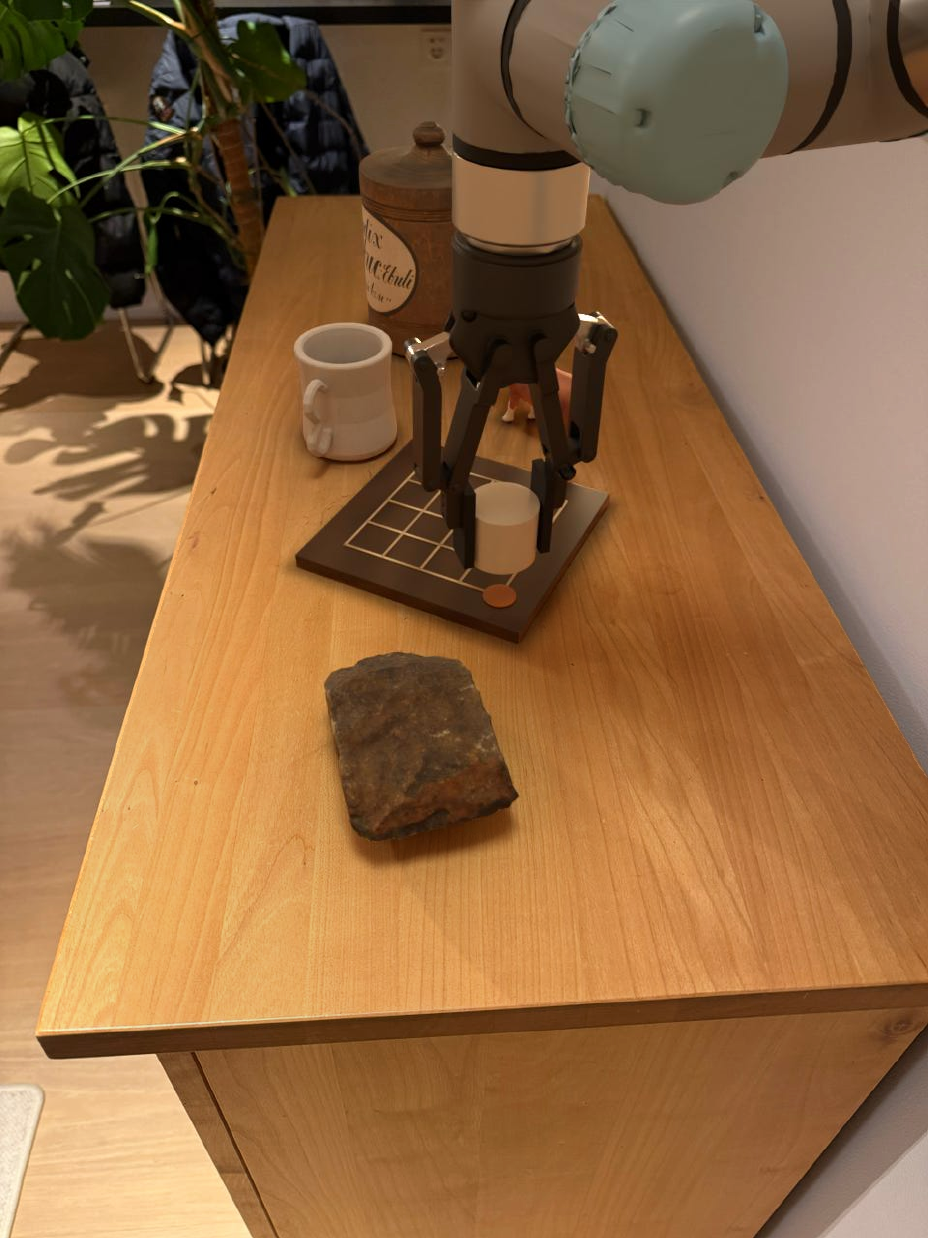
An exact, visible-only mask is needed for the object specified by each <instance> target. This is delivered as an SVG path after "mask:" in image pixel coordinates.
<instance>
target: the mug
mask: <svg viewBox="0 0 928 1238" xmlns="http://www.w3.org/2000/svg"><path fill="white" fill-rule="evenodd" d="M392 354H393V352H392V341H391V339H390V337H389V336H388V335H387V334H386V333H385V332H383V331H382V330H380V329H378V328H376V327H373V326H369V324H365V323H359V322H335V323H328V324H327V323H326V324H323V325H320V326H316V327H314V328H311V329H308V330H307V331H305V332H304V333H302V334H300V335H299V337H297V339H296V340H295V342H294V345H293V355H294V358H295V362H296V366H297V369H298V374H299V378H300V385H301V396H302V435H303V438H304V440H305V444H306V449H307V451H308V452H309V453H310V455H311V456H312V457H315V458H320V457H322V458H326V459H329V460H333V461H339V462H358V461H363V460H367V459H371V458H374V457H376V456H378V455H380V454H382V453H384V452H385V451H386V450H388V449H389V448H390V447H391V446H392V445H393V444H394V443H395V440H396V438H397V434H398V423H397V416H396V411H395V406H394V400H393V390H392V378H391V367H392Z"/></svg>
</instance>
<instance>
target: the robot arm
mask: <svg viewBox="0 0 928 1238" xmlns="http://www.w3.org/2000/svg"><path fill="white" fill-rule="evenodd" d="M450 4H451V97H452V98H451V105H452V106H451V112H452V113H451V116H452V117H451V119H452V120H451V121H452V124H451V125H452V131H451V132H452V138H451V139H452V140H451V142H452V143H451V146H452V222H453V224H454V225H455V227H456V228H457V230H456V231H455V233H454V234H453V236H452V239H451V297H452V308H451V312H450V315H449V317H448V319H447V321H446V323H445V325H444V332H442V333H440V334H438V335H436V336H434V337H432V338H430V339H428V340H425V341H423V342H420V341H419V340H418V339H417V338H410V339H408V340H406V341H405V343H404V344H403V352H404V354H405V356H404V357H405V359H406V361H407V364H408V366H409V369H410V371H411V375H412V376H411V380H412V382H411V385H412V388H411V389H412V390H411V391H412V392H411V393H412V394H411V395H412V396H411V397H412V399H411V400H412V403H411V404H412V408H411V409H412V410H411V411H412V412H411V413H412V415H411V416H412V418H411V419H412V438H413V470H414V471H415V473H416V475H417V477H418V479H419V481H420V483H421V485H422V487H423V489H424V490H425V491H427V492H434V491H436V490H440V501H441V502H440V506H441V507H440V513H441V515H442V517H443V519H444V521H445V523H446V525H447V527H448V529H449V530H452V529H453V548H454V550H455V552H456V554H457V556H458V558H459V560H460V562H461V564H462V566H463V568H464V570H465V569H470V568H474V559H475V521H476V493H475V491H474V489H473V488H472V486H471V484H470V483H469V481H468V479H469V475H470V472H471V469H472V466H473V462H474V459H475V456H477V453H478V449H479V446H480V442H481V440H482V437H483V434H484V430H485V428H486V427H485V426H486V424H487V420H488V418H489V413H490V412H491V411H490V410H491V408H492V407H494V406H495V405H496V403H497V401H498V397H499V394H500V390H502V389H505V388H508V386H510V385H512V384H515V383H519V384H528V387H529V392H530V396H531V401H532V406H533V410H534V415H535V418H534V419H535V423H536V427H537V433H538V436H539V437H538V438H539V440H540V447H541V450H542V455H543V456H544V458H542V457H540V458H533V459H531V470H530V471H531V484H530V490H531V491H533V492H534V493H535V494H536V496H537V497H538V499H539V501H540V513H539V524H538V535H537V547H536V548H537V549H538V551H539V553H540V554H542V553H547V552H550V543H551V533H552V523H553V512H554V509H557V508H562V506H563V504H564V502H565V497H566V495H565V494H566V488H567V482H571V481H572V480H573V479H574V478H576V475H577V469H576V468H575V465H578V464H579V463H584V464H589V463H591V462H593V461H594V460H595V459H596V458H597V454H598V448H599V447H598V446H599V438H600V437H599V436H600V429H601V420H602V419H601V418H602V407H603V399H604V390H605V381H606V372H607V371H606V370H607V363H608V361H609V359H610V356H611V354H612V352H613V349H614V347H615V344H616V342H617V340H618V337H619V332H618V330H617V329H616V328H615V327H614V326H613V325H612V324H611V322H609V320H607V318H605V317H604V316H603V314H601V313H600V312H599V311H592V312H590V313H589V314H587V315H585V314H580V313H579V310H578V308H577V304H576V299H577V297H578V294H579V287H580V276H581V267H582V266H581V265H582V256H583V246H584V242H583V238H582V237H581V236H580V232H581V231H582V230H583V229H584V228H585V226H586V218H587V217H586V216H587V206H588V196H589V186H590V175H591V170H592V171H594V172H595V173H596V175H597V176H598V177H600V178H601V179H605V180H606V181H607V182H609V183H610V184H611V185H612V186H615V187H617V186H619V187H622V188H623V189H625V190H626V191H627V192H629V193H632V194H638V195H642V196H644V197H647V198H649V199H651V200H653V201H655V202H657V203H660V204H664V205H672V206H688V205H689V206H690V205H694V204H699V203H704V202H706V201H709V200H711V199H713V198H714V197H715V196H717V195H719V194H720V193H721V191H723V190H724V189H725V188H726V187H728V186H729V185H731V184H732V183H733V182H734V181H737V180H739V179H740V178H742V177H744V176H745V175H747V173H749V172H750V171H751V170H752V168H753V167H754V166H755V165H756V164H757V162H758V161H759V160H762V159H768V158H774V157H778V156H785V155H791V154H794V153H798V152H807V151H812V150H814V151H815V150H822V149H829V148H838V147H845V146H853V145H860V144H861V145H862V144H870V143H877V142H878V143H894V142H901V141H906V140H911V139H917V138H922V137H926V136H928V0H451V3H450ZM571 341H572V343H573V345H574V350H573V357H572V358H573V359H572V370H571V374H572V382H571V395H570V407H569V420H568V433H567V436H566V431H565V426H564V421H563V415H562V410H561V405H560V400H559V395H558V391H559V383H558V378H557V372H556V368H557V366H556V362H557V361H558V359H559V358H560V356H562V354H563V353H564V351H565V350H566V348H568V346H569V345H570V343H571ZM453 352H454V353H455V354H456V355H457V356H458V357H457V358H458V359H459V360H460V361H461V363H462V364H463V366H462V371H461V374H460V389H459V394H458V397H457V401H456V404H455V408H454V410H453V415H452V419H451V422H450V425H449V429H448V432H447V436H446V439H445V443H444V446H443V447H444V450H443V453H442V457H441V446H442V422H443V421H442V419H443V418H442V417H443V389H442V383H441V380H440V378H443V377H444V376H445V374H446V370H447V360H448V359H449V358H448V356H449V355H450V354H451V353H453Z"/></svg>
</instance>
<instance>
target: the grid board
mask: <svg viewBox="0 0 928 1238" xmlns="http://www.w3.org/2000/svg"><path fill="white" fill-rule="evenodd" d="M443 450H444V446H443V445H441V457H442V453H443ZM468 481H469V483H470V484H471V486H472V488H473V489H474V490H475V489H476V488H478V487H480V486H482V485H485V484H489V483H494V482H509V483H515V484H519V485H522V486H524V487H526V488H528V489H530V484H531V470H527V469H525V468H522V467H517V466H514V465H511V464H506V463H503V462H500V461H496V460H492V459H489V458H486V457H482V456H478V455H476V456H475V459H474V462H473V466H472V469H471V472H470V475H469V479H468ZM565 495H566V497H565V502H564V504H563V506H562V508H557V509H554V512H553V523H552V533H551V543H550V552H547V553H542V554H540V553H539V551H538V549H537V548H536V556H535V559H534V561H533V563H532V564H531V565H530V566H529V567H527V568H526V569H524V570H522V571H520V572H517V573H513V574H506V575H499V574H492V573H488V572H485V571H482V570H480V569H478V568H477V567H475V566H474V568H470V569H465V570H464V568H463V566H462V564H461V562H460V560H459V558H458V556H457V554H456V552H455V550H454V548H453V529H452V530H449V529H448V527H447V525H446V523H445V521H444V519H443V517H442V515H441V513H440V507H441V506H440V502H441V501H440V490H436V491H434V492H427V491H425V490H424V489H423V487H422V485H421V483H420V481H419V479H418V477H417V475H416V473H415V471H414V470H413V437H412V438H411V439H410V440H409V441H408V442H407V443H406V444H405V445H404V446H403V447H402V448H401V449H400V450H399V451H398V452H397V453H396V454H395V455H394V456H393V457H391V459H390V460H389V461H388V462H387V463H386V464H385V465H384V466H383V467H382V468H381V469H380V470H379V471H378V472H377V473H376V474H375V475H374V476H373V477H372V478H371V479H370V480H369V481H368V482H367V483H366V484H365V485H364V486H363V487H362V488H361V489H360V490H359V491H358V492H357V493H355V495H354V496H353V497H352V498H350V500H349V501H348V502H346V504H344V506H343V507H341V509H340V510H339V511H338V512H337V513H336V514H335V515H333V517H332V518H331V519H330V520H329V521H327V523H326V524H324V526H323V527H322V528H320V530H319V531H318V532H316V534H314V535H313V537H312V538H310V540H309V541H307V542H306V544H305V545H304V546H303V547H301V548H300V550H298V551H297V552H296V554H294V558H295V565H296V567H297V568H301V569H303V570H307V571H309V572H312V573H315V574H317V575H321V576H324V577H326V578H330V579H332V580H334V581H337V582H341V583H343V584H346V585H349V586H351V587H355V588H357V589H361V590H364V591H366V592H370V593H372V594H374V595H378V596H381V597H384V598H387V599H389V600H392V601H395V602H398V603H400V604H403V605H406V606H410V607H412V608H415V609H418V610H420V611H424V612H426V613H429V614H432V615H436V616H438V617H440V618H444V619H446V620H449V621H451V622H452V621H453V622H455V623H458V624H461V625H464V626H466V627H470V628H473V629H475V630H478V631H481V632H483V633H486V634H488V635H489V634H490V635H492V636H495V637H498V638H501V639H504V640H507V641H510V642H513V643H514V644H519V643H520V642H521V640H522V639H523V637H524V635H526V633H527V632H528V630H529V628H530V626H531V625H532V623H533V621H534V620H535V618H536V617H537V615H538V614H539V612H540V611H541V610H542V607H543V606H544V605H545V603H546V601H547V600H548V599H549V597H550V595H551V594H552V592H553V591H554V589H555V587H556V586H557V585H558V583H559V582H560V580H561V579H562V577H563V576H564V574H565V572H566V570H567V569H568V568H569V566H570V565H571V564H572V562H573V560H574V559H575V557H576V555H577V554H578V552H579V551H580V549H581V548H582V546H583V545H584V543H585V542H586V541H587V538H588V537H589V535H590V534H591V532H592V531H593V529H594V527H595V526H596V524H597V523H598V521H599V520H600V519H601V516H602V515H603V514H604V512H605V510H606V509H607V507H608V506H609V503H610V499H611V498H610V497H611V493H610V492H606V491H603V490H599V489H595V488H592V487H588V486H585V485H581V484H578V483H574V482H571V481H567V488H566V494H565Z"/></svg>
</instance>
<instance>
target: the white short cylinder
mask: <svg viewBox="0 0 928 1238" xmlns="http://www.w3.org/2000/svg"><path fill="white" fill-rule="evenodd" d="M474 491H475V493H476V521H475V559H474V566H475V567H477V568H478V569H480V570H482V571H485V572H488V573H492V574H499V575H506V574H513V573H517V572H520V571H522V570H524V569H526V568H527V567H529V566H530V565H531V564H532V563H533V561H534V559H535V556H536V547H537V535H538V524H539V513H540V501H539V499H538V497H537V496H536V494H535V493H534V492H533V491H531V490H530V489H528V488H526V487H524V486H522V485H519V484H515V483H509V482H494V483H489V484H485V485H482V486H480V487H478V488H476V489H475V490H474Z"/></svg>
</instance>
